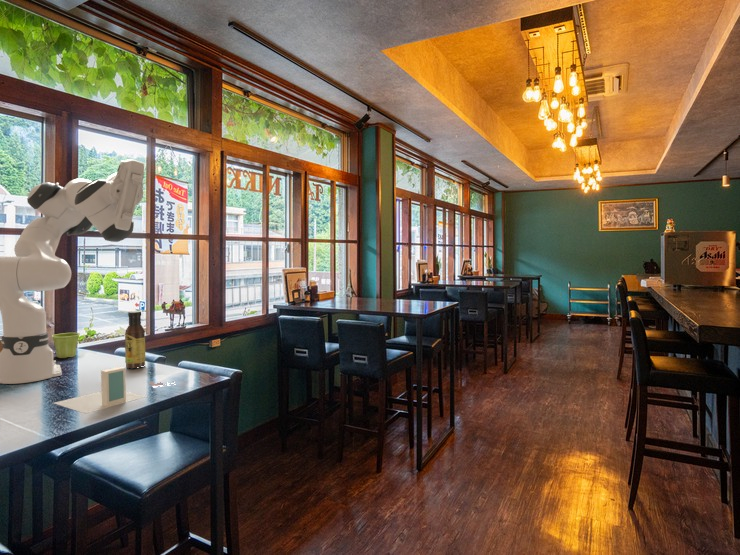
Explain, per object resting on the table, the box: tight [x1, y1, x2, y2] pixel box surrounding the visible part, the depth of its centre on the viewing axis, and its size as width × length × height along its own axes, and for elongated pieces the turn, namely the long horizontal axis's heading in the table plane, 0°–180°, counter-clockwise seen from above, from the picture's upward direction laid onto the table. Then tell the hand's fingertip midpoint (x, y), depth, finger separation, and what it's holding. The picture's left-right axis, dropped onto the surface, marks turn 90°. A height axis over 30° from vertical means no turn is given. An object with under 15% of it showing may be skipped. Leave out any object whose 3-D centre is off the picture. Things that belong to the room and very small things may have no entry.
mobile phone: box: [148, 380, 176, 388], centre depth 144 cm, size 8×1×15 cm
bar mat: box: [53, 391, 147, 415], centre depth 124 cm, size 16×16×1 cm
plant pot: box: [51, 332, 81, 359], centre depth 181 cm, size 9×9×9 cm
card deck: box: [100, 366, 127, 408], centre depth 121 cm, size 2×5×9 cm, turn 149°
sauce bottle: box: [124, 310, 146, 369], centre depth 162 cm, size 6×6×20 cm
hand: (133, 199), depth 127 cm, fingers open, 8 cm apart
